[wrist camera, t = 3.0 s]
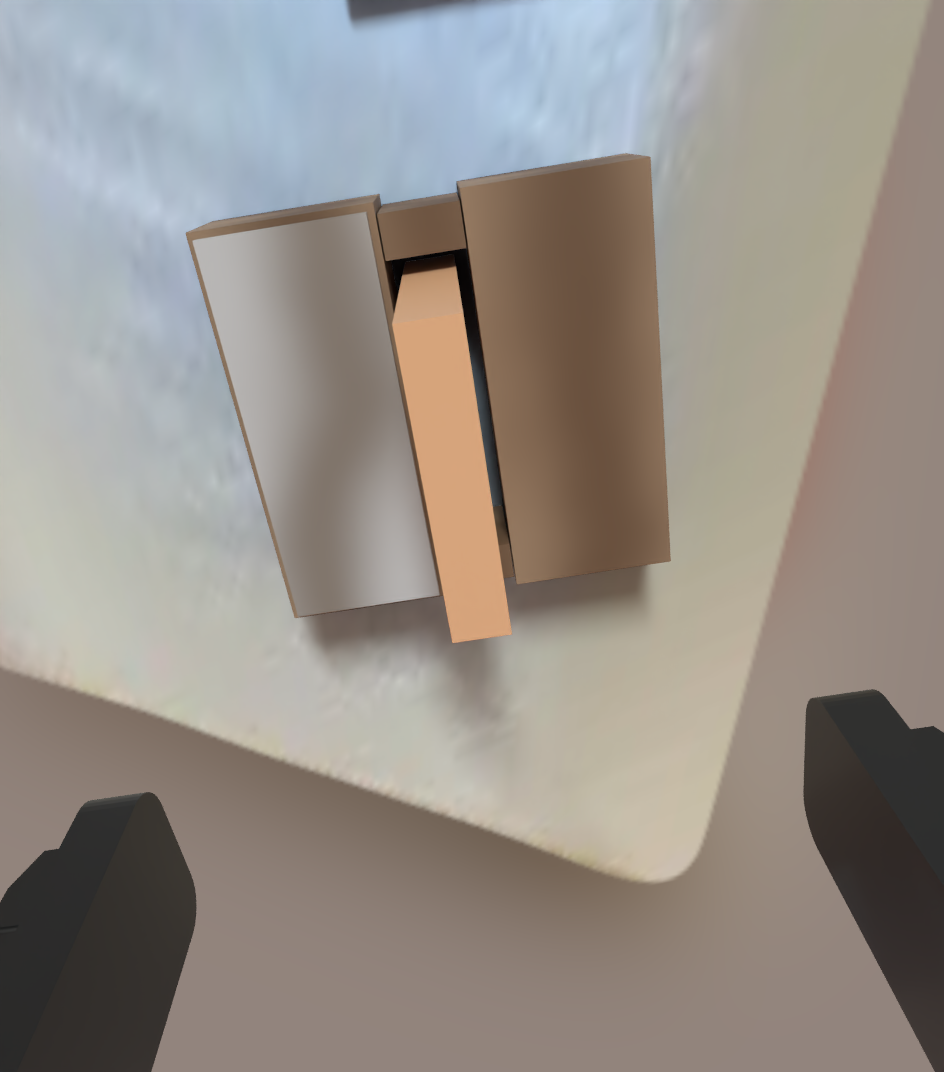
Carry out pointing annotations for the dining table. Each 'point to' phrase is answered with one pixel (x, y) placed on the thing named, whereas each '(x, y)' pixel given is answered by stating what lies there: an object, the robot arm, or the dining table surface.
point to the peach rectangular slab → (450, 447)
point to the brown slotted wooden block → (509, 365)
